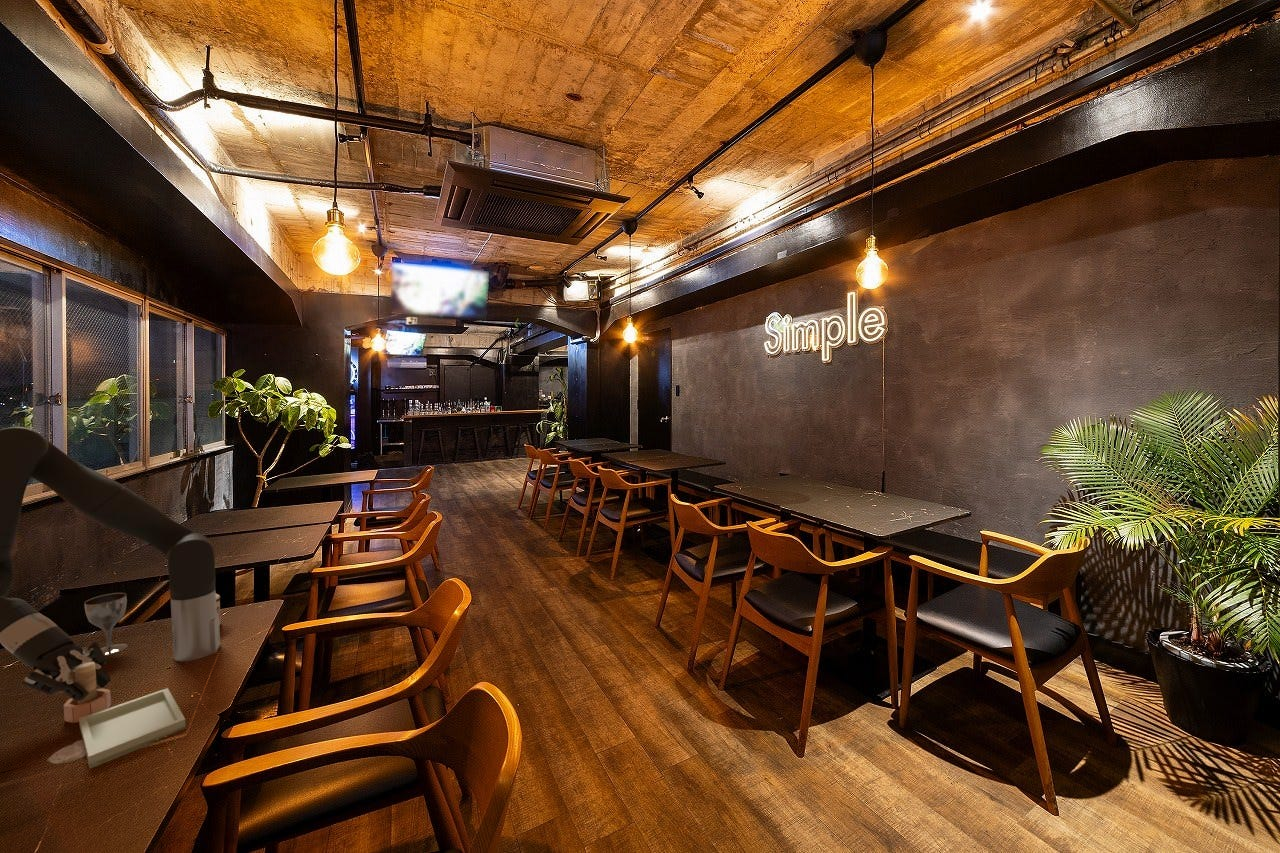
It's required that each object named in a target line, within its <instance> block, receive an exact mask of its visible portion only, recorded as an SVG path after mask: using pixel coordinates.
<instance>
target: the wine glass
mask: <svg viewBox="0 0 1280 853" xmlns="http://www.w3.org/2000/svg"><path fill="white" fill-rule="evenodd" d="M127 603H128V599H127V593H125V592H112V593H106V594H102V595H98V596H95V597H92V598H90V599H89V598H88V599H87V600H85V601H84V610H85V615H86V617H87V620H88V622H89V623H90V624H92V625H93V626H95V627H98V628H100V629H101V630H102V631H103V632H104V634H105V638H106V646H104V647H100V649H101V650H102V652H103V654H104V656H105V657H108V656H111V655H115V654H119V653H120V652H122V651H124V650H126V649H127V648H128V647H129V644H127V643H115V644H112V631H113V628H114V627H115V625H116V624H117V623H118V622H119V621H120V620H121V619H122V618H123V616H125V613H126V610H127Z"/></svg>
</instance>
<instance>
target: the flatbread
mask: <svg viewBox="0 0 1280 853" xmlns="http://www.w3.org/2000/svg"><path fill="white" fill-rule="evenodd" d="M85 756H87V755H86V750H85V746H84V742H83V739H80V740H77V741H75V742H73V743H72V744H69V745H67V746H64V747H63V748H61V749H59V750H57V751H55V752H53V754H52V755H51V756H50V757H49V758H47V759H46V762H48V763H51V764H54V765H60V764H66V763H69V762H73V761H76V760H79V759H81V758H84V757H85Z"/></svg>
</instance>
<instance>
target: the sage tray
mask: <svg viewBox="0 0 1280 853" xmlns="http://www.w3.org/2000/svg"><path fill="white" fill-rule="evenodd" d="M78 723H79V730H80V734H81V738H82V739H83V742H84V746H85V750H86V755H85V756H86V758H87V764H88V767H89V769H93V768H95V767H98V766H100V765H103V764H105V763H107V762H110V761H112V760H115V759H118V758H120V757H123V756H126V755H127V754H130V753H132V752H135V751H138V750H140V749H143V748H146V747H148V746H149V745H152V744H154V743H157V742H160V741H162V740H164V738H165V737H168V736H170V735H172V734H175V733H177V732H180V731H183V730H185V729H187V728H186V727H187V726H186V718H185V717H184V714H183V713H182V711H181V708H180V707H179V705H178V703H177V701H176V700H175V698H174V696H173V695H172V692H171V691H170V689H169V687H166V688H163V689H161V690H158V691H155V692H152V693H148V694H146V695H144V696H141V697H138V698H135V699H132V700H128V701H125V702H123V703H120V704H117V705H114V706H110V708H108V709H105V710H102V711H99V712H96V713H93V714H91V715H88V716H85V717H82V718H79V722H78ZM162 738H163V739H162ZM82 739H81V740H82Z"/></svg>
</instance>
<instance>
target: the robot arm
mask: <svg viewBox="0 0 1280 853" xmlns="http://www.w3.org/2000/svg"><path fill="white" fill-rule="evenodd" d="M30 478H32V479H33V480H36V481H38V482H39V483H41V484H43V485H45V486H47V487H48V488H49V489H50V490H52V491H53V492H55V493H56V494H57V495H58V496H59V497H60V498H61V499H62V500H64V501H65V502H66V503H67V504H69V505H70V506H71V507H73V508H74V509H76V510H78V512H81V513H82V514H83V515H86V516H87V517H89V518H90V519H91V520H94V521H95V522H97V523H99V524H100V525H103V526H105V527H107V528H110V529H112V530H114V531H116V532H119V533H122V534H124V535H128V536H131V537H134V538H137V539H139V540H141V541H143V542H145V543H147V544H148V545H151V547H153V548H155V549H156V550H158V551H159V552H160V553H162V554H163V555H164V556H165V557H166V558H167V568H168V569H167V570H168V580H169V581H168V583H169V596H170V597H169V598H170V612H171V613H170V614H171V630H172V648H173V659H174V660H175V661H177V662H189V661H194V660H199V659H202V658H205V657H208V656H211V655H213V654H217V653H218V650H219V648H220V645H221V636H220V632H221V631H220V625H219V614H218V613H217V610H216V594H217V593H216V566H215V565H216V563H215V562H216V561H215V550H214V546H213V543H212V542H211V540H210V539H209V538H208V537H207V536H205V535H203V534H201V533H200V532H197V531H195V530H193V529H190V528H189V527H187V526H185V525H183V524H180V523H179V522H177V521H175V520H173V519H172V518H170V517H168V515H166V514H165V513H163V512H162V511H161V510H159V508H157V507H155V506H154V505H153V504H152V503H150V502H149V501H148V500H146V499H144V498H143V497H142V496H140V495H138V494H137V493H136V492H134V491H132V490H131V489H129V488H127V487H126V486H125V485H123V484H121V483H119V482H118V481H116V480H115V479H112V478H110V477H108V476H107V475H104V474H102V473H101V472H98V471H96V470H94V469H92V468H89V467H87V466H85V465H84V464H82V463H80V462H79V461H76V460H75V459H73V458H72V457H70V456H69V455H68V454H66V453H65V452H64V451H63V450H61V449H59V447H57V446H56V445H55V444H53V443H52V442H51V441H50V440H49V439H47V438H46V437H45V436H44V435H43V434H42V433H40V432H39V431H37V430H35V429H33V428H32V429H31V428H28V427H23V426H22V427H21V426H9V427H4V428H3V427H2V428H0V644H1V645H2V646H3V647H4V648H5V649H6V650H7V651H8V652H10V654H12V655H13V656H14V657H15V658H16V659H18V660H19V661H20V662H21V663H23V664H24V666H26V667H27V668H32V671H31V672H30V673H29V674H28V675H26V677H25V678H24V679H23V680H22V681H21V684H23V685H25V686H27V687H30V688H32V689H34V690H37V691H40V692H42V693H44V694H47V695H54V694H55V693H59V692H63V693H65V694H66V695H67V696H69V697H70V698H72V699H74V700H78V701H81V700H82V699H84V698H85V697H86V696H87V695H88V694H89V693H88V691H87V690H85V689H84V688H83V687H82V686H81V685H79V684H78V683H77V682H76V681H75V679H73V676H72V675H71V673H72V672H74V673H75V667H77V666H79V665H81V664H84V663H88V662H95V671H96V684H97V686H99V688H100V689H102V688H103V689H104V688H105V687H107V686H108V685H109V684H110V683H111V682H112V679H111V676H110V675H109V674H108V673H106V672H105V671H104V670H103V669H102V667H103V666H104V665H105V664H106V663H107V662H108V659H107V658H106V656H104V654H103V652H102V650H101V646H100V645H99V644H98V642H92V643H91V644H89V645H87V646H80V645H77V644H75V643H74V642H73V638H72V637H71V636H70V635H69V634H68V633H66V632H65V631H64V630H63V629H62V628H61V627H59V625H58V624H56V623H55V622H54V621H52V620H51V619H50V618H49V617H47V616H45V615H43V614H42V613H41V612H39V611H38V610H37V609H36V608H34V607H33V606H32V605H31V604H30V603H28V602H27V601H26V600H25V599H22V598H18V597H16V598H15V597H4V596H6V594H7V593H9V591H10V590H11V588H12V586H13V583H14V578H15V577H14V565H13V564H14V563H13V562H14V561H13V558H12V556H13V555H12V550H13V546H14V545H15V544H14V543H15V540H16V538H17V532H18V529H19V524H20V521H21V520H20V519H21V514H22V506H23V501H24V496H25V492H26V490H27V489H26V488H27V487H28V483H29V481H30Z"/></svg>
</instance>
